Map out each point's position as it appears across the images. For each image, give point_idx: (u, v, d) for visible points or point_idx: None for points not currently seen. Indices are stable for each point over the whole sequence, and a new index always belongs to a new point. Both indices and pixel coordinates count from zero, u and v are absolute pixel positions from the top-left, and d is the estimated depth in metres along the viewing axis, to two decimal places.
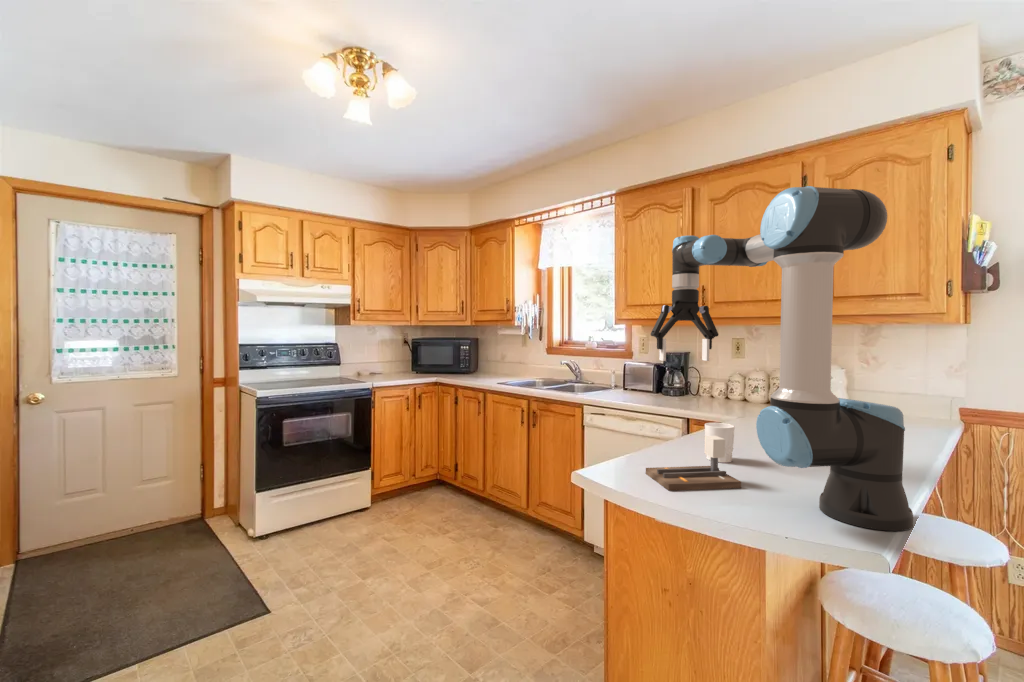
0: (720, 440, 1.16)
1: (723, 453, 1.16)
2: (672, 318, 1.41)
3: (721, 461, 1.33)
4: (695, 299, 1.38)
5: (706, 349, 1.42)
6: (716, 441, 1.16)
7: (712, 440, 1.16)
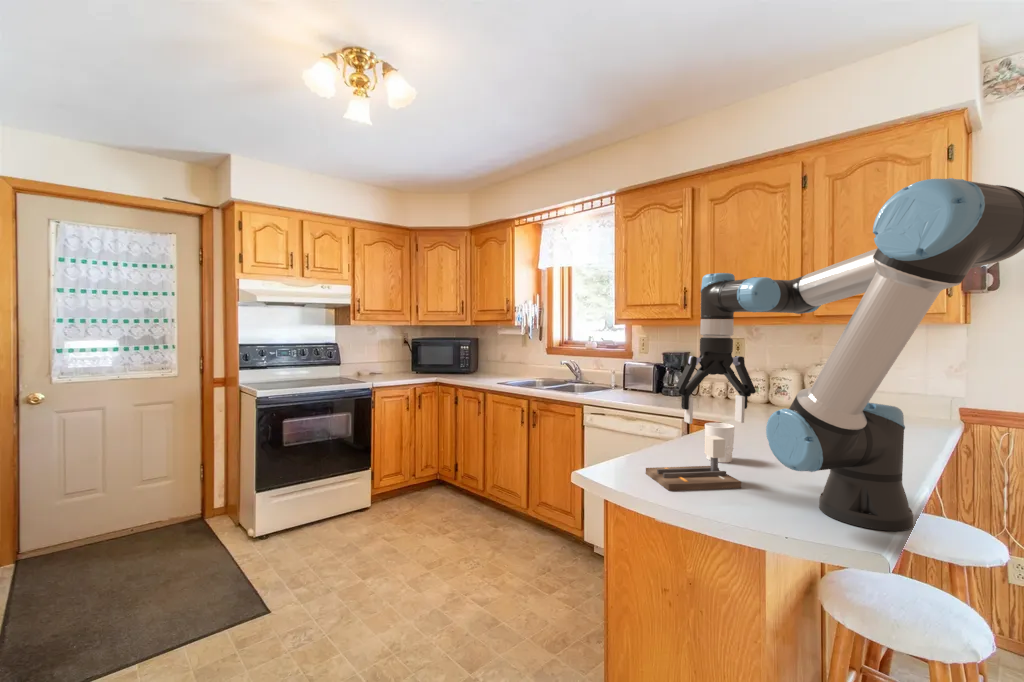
0: (720, 440, 1.16)
1: (723, 453, 1.16)
2: (700, 372, 1.17)
3: (721, 461, 1.33)
4: (729, 350, 1.14)
5: (741, 409, 1.18)
6: (716, 441, 1.16)
7: (712, 440, 1.16)
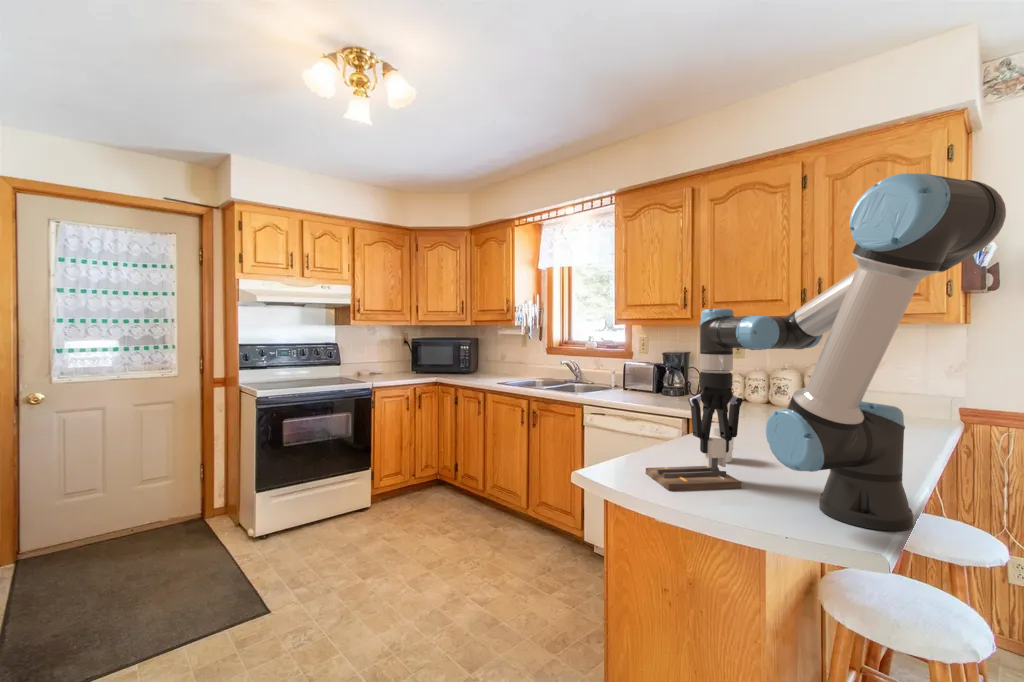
0: (720, 440, 1.16)
1: (723, 453, 1.16)
2: (706, 411, 1.17)
3: None
4: (729, 385, 1.14)
5: None
6: (716, 441, 1.16)
7: (712, 440, 1.16)
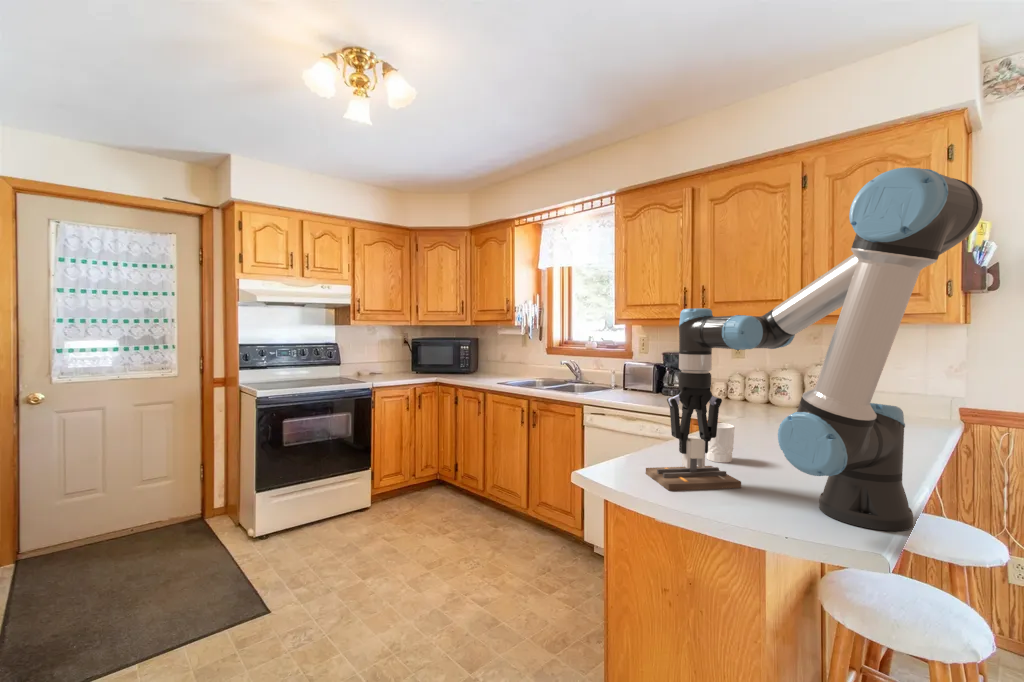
0: (699, 441, 1.15)
1: (702, 454, 1.15)
2: (685, 411, 1.16)
3: (721, 461, 1.33)
4: (707, 386, 1.13)
5: None
6: (695, 441, 1.15)
7: (691, 441, 1.15)
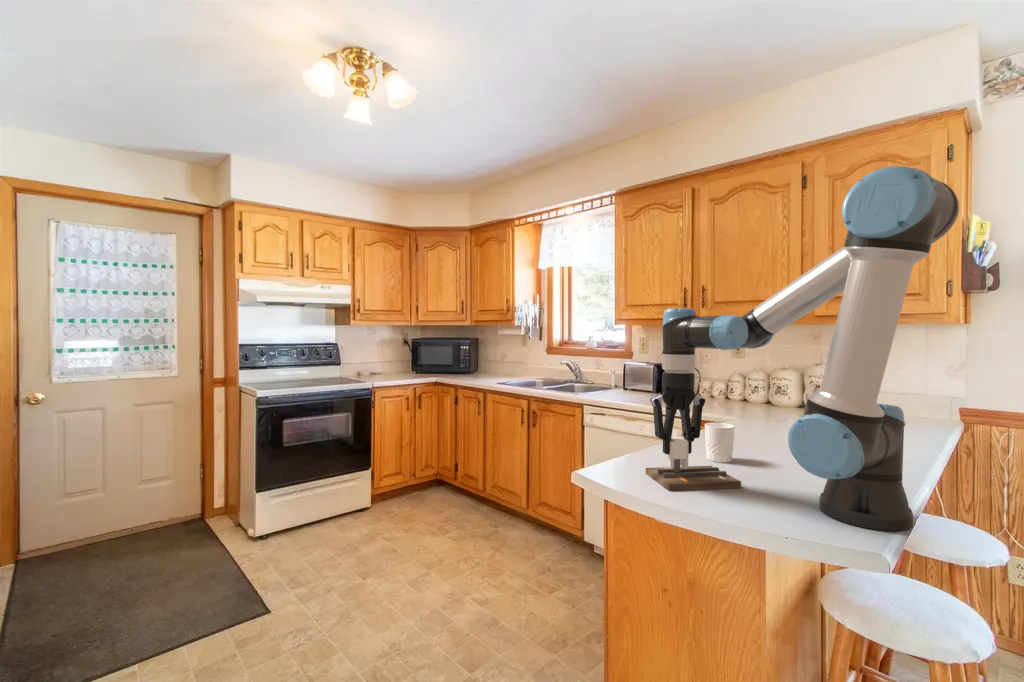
0: (682, 441, 1.15)
1: (685, 454, 1.15)
2: (668, 411, 1.16)
3: (721, 461, 1.33)
4: (690, 386, 1.13)
5: None
6: (678, 442, 1.14)
7: (674, 441, 1.15)
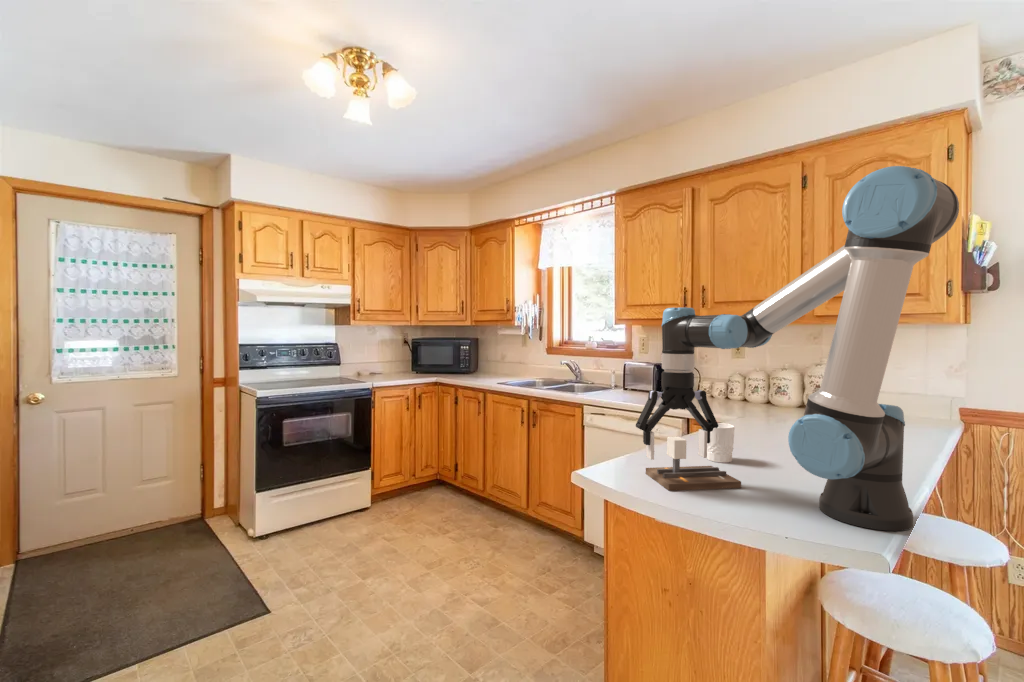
0: (681, 441, 1.15)
1: (684, 454, 1.15)
2: (662, 406, 1.15)
3: (721, 461, 1.33)
4: (689, 385, 1.13)
5: (703, 443, 1.16)
6: (677, 442, 1.14)
7: (673, 441, 1.15)
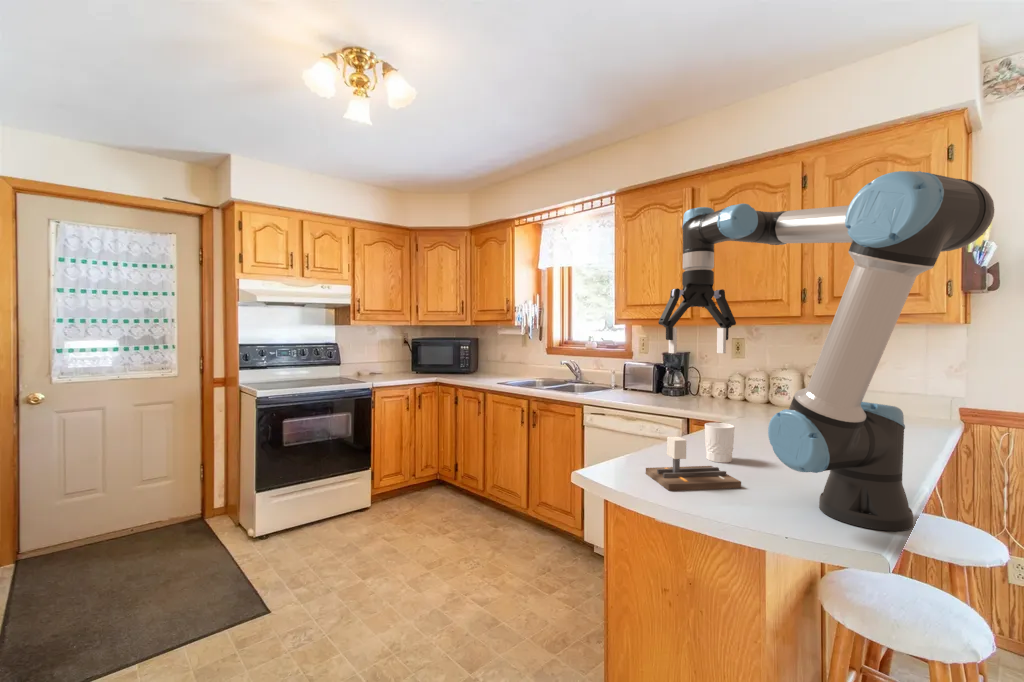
0: (681, 441, 1.15)
1: (684, 454, 1.15)
2: (683, 304, 1.21)
3: (721, 461, 1.33)
4: (710, 281, 1.19)
5: (722, 340, 1.22)
6: (677, 442, 1.14)
7: (673, 441, 1.15)
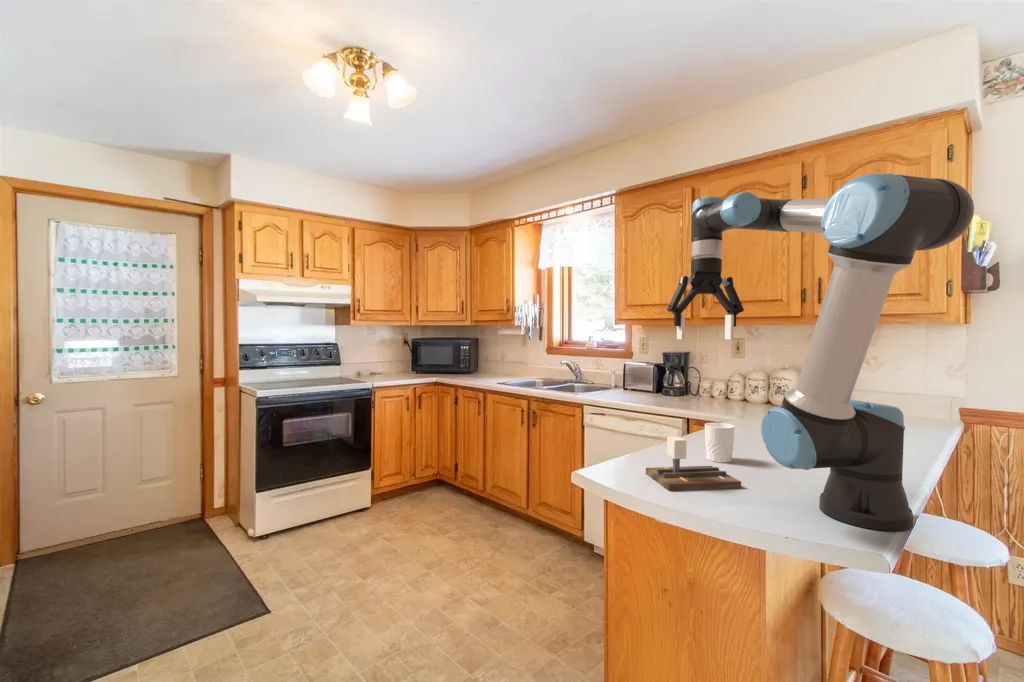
0: (681, 441, 1.15)
1: (684, 454, 1.15)
2: (691, 291, 1.24)
3: (721, 461, 1.33)
4: (718, 269, 1.22)
5: (730, 326, 1.25)
6: (677, 442, 1.14)
7: (673, 441, 1.15)
